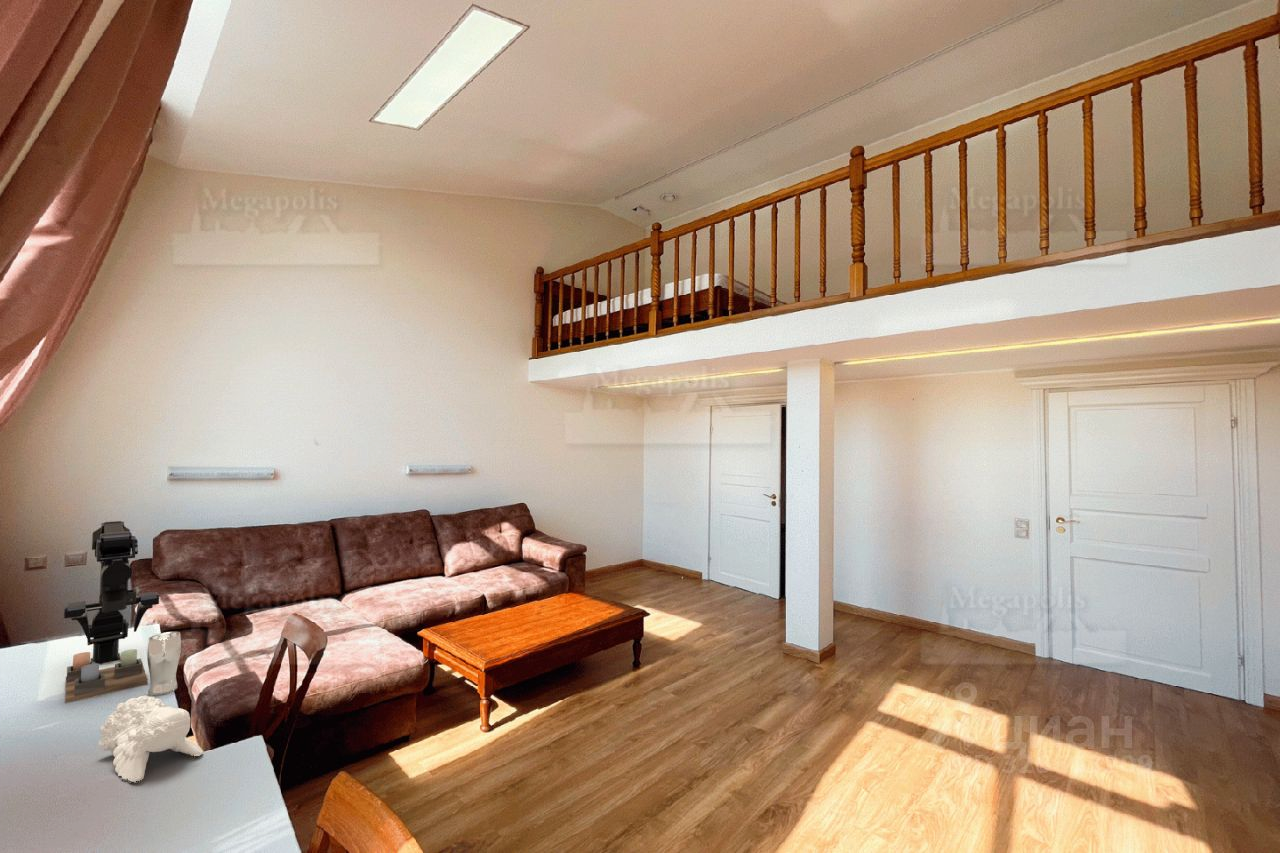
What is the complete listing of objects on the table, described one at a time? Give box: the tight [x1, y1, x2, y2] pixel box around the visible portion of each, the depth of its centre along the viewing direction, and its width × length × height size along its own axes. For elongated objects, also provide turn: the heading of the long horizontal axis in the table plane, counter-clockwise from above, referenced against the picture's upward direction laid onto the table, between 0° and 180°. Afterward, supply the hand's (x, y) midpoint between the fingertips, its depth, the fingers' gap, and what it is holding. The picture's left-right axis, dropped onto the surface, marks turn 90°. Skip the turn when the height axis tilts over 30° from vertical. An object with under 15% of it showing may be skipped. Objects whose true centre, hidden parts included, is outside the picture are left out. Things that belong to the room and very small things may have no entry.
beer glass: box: [146, 631, 182, 697], centre depth 149 cm, size 7×7×15 cm
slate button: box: [81, 663, 100, 683], centre depth 147 cm, size 3×3×4 cm
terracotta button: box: [72, 651, 91, 671], centre depth 155 cm, size 3×3×4 cm
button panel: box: [64, 658, 149, 704], centre depth 154 cm, size 19×16×4 cm
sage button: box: [120, 649, 138, 667], centre depth 157 cm, size 3×3×4 cm
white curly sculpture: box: [98, 695, 204, 783], centre depth 118 cm, size 13×12×20 cm
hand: (112, 635), depth 150 cm, fingers open, 9 cm apart
